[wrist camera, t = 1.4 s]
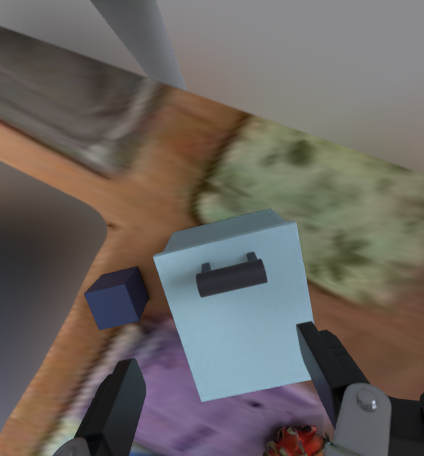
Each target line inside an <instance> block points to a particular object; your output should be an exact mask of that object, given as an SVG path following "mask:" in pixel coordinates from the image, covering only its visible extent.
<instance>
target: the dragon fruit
mask: <svg viewBox="0 0 424 456" xmlns="http://www.w3.org/2000/svg"><path fill="white" fill-rule="evenodd" d="M302 427H304V428H302ZM300 428H302V429H300V430H297V429H296V427H295V428H294V427H293V426H292V425H291V426H290V427H289V428H288V429H287V431H286V428H285V427H282V428H281V429H280V430H279V432H278V433H277V438H276V439H275V441H269V442H267V443H266V448H267V451H265V452H264V453H263V456H322V454H323V450H324V447H325V445H326V443H327V442H330V440H329V435H328V434H327V433H325V435H326V438H327V439H326V438H325V437H323V436H321V435H319V434H315V432H316V431H317V430H318V429H317V427H316V426H315V425H313V426H312V425H311V426H308V425H306V424H305V425H302V426H301V427H300ZM308 428H310V429H309V430H304V429H308ZM281 432H282V435H283V437H282V438H280V437H281ZM319 432H320V431H319ZM322 435H323V434H322ZM268 446H270V447H271V448H272V449H273V450H269V451H268Z"/></svg>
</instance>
